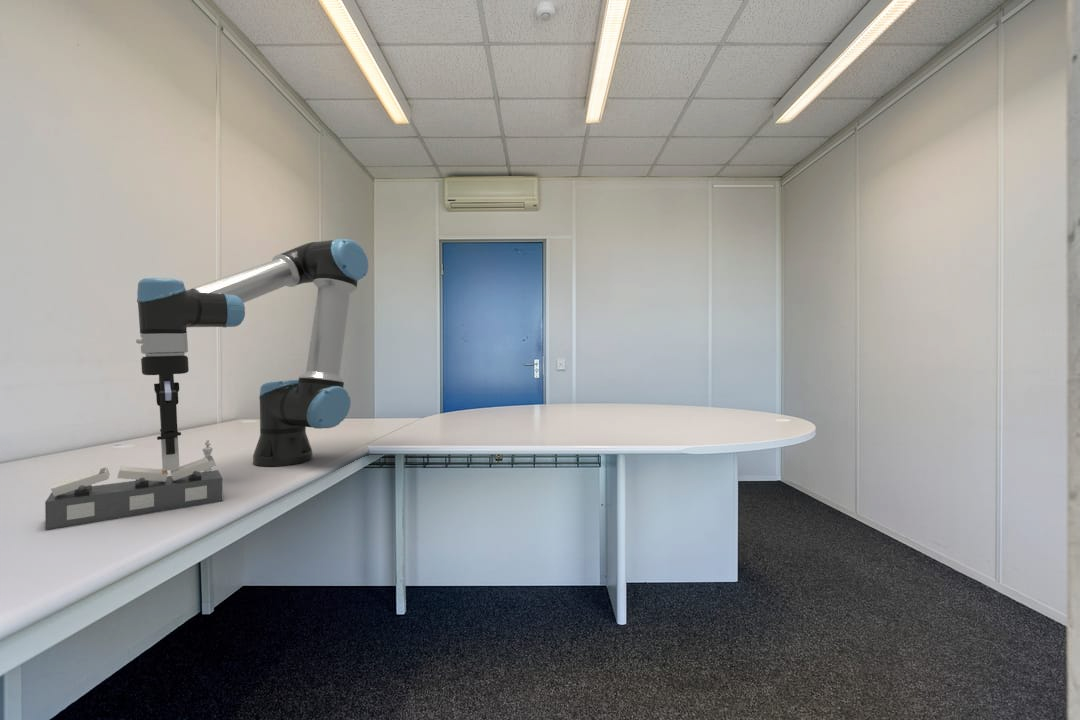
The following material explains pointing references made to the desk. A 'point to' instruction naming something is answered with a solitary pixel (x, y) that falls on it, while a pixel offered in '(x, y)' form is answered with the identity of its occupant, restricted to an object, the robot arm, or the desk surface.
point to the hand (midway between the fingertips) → (171, 469)
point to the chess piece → (207, 453)
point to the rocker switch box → (131, 499)
